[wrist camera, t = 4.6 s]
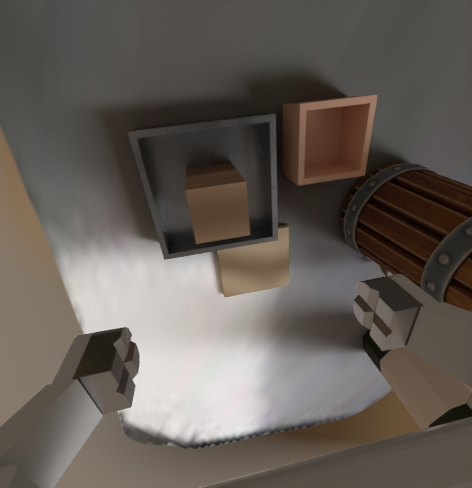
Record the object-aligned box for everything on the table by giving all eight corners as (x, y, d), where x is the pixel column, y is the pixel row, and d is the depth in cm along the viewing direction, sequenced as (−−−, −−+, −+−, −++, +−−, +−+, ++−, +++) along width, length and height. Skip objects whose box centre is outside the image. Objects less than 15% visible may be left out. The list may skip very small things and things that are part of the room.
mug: (333, 179, 25) (484, 254, 12) (431, 146, 25) (683, 187, 12) (342, 289, 33) (439, 406, 20) (416, 264, 33) (561, 365, 20)
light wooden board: (214, 236, 26) (215, 238, 26) (287, 224, 27) (289, 226, 26) (223, 294, 30) (224, 297, 30) (286, 282, 31) (288, 285, 30)
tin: (135, 128, 20) (127, 131, 18) (265, 112, 21) (275, 113, 19) (166, 244, 26) (164, 259, 23) (269, 227, 27) (277, 240, 24)
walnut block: (186, 167, 22) (185, 190, 16) (230, 161, 22) (246, 181, 16) (194, 209, 24) (196, 244, 18) (235, 203, 24) (250, 235, 18)
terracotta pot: (282, 104, 21) (300, 103, 18) (347, 96, 22) (377, 94, 18) (282, 174, 24) (298, 185, 21) (340, 166, 25) (364, 175, 21)
